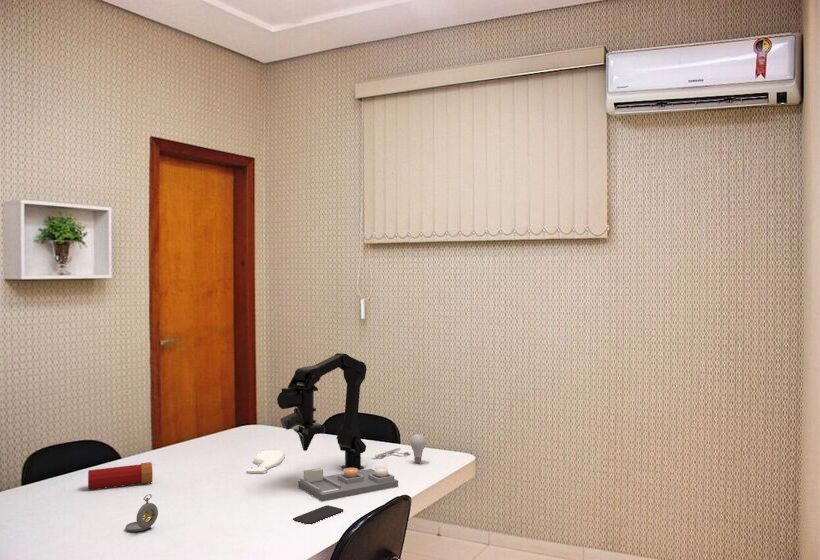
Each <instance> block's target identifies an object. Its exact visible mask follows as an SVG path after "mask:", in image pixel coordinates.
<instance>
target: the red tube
mask: <svg viewBox="0 0 820 560" xmlns="http://www.w3.org/2000/svg"><path fill="white" fill-rule="evenodd" d="M87 472H88V473H87V474H88V475H87V487H88V489H87V490H88V491H90V490H89V489H93V490H98V489H97V488H101V489H106V488H105V487H110V488H115V487H114V486H118V487H123V486H122V485H126V486H131V485H130V484H134V485H139V484H138V483H141V484H140V485H144V484H143V483H149V484H152V483H153V476H154V475H153V474H154V473H153V462H151V461H150V462H140V464H139V463H138V464H132V465H122V466H113V467H107V468H105V467H104V468H96V469H89V470H87ZM151 482H152V483H151Z"/></svg>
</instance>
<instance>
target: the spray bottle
mask: <svg viewBox="0 0 820 560" xmlns="http://www.w3.org/2000/svg"><path fill="white" fill-rule="evenodd" d="M285 456H286V453H285V452H284V450H270V449H269V450H262V451H260V452H258V454H257V455H256V456H255V457H254V458H253V463H254V465H257V464H259V465H257V467H250V469H245V470H246V471H245V473H247V474H267V473H268V470H269V469H271V468H274V467H277V466H278V464H279V465H280V464H282V462H283V461H284V460H285ZM276 465H277V466H276Z"/></svg>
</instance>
